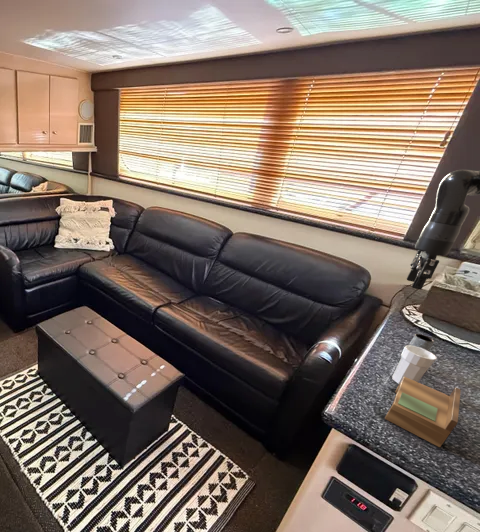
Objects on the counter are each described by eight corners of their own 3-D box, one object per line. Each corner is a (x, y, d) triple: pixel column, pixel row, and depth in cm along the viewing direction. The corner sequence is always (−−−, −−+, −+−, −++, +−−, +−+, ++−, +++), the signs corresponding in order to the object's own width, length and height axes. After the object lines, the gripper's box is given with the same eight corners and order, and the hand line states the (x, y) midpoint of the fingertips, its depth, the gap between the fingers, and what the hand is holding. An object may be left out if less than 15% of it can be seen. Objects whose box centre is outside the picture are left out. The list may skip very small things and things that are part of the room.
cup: (395, 372, 100) (411, 343, 96) (422, 387, 95) (441, 357, 90) (383, 376, 98) (400, 347, 94) (411, 392, 92) (429, 361, 88)
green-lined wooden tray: (396, 389, 92) (409, 367, 89) (445, 412, 85) (461, 389, 82) (384, 418, 81) (398, 394, 78) (439, 447, 74) (458, 422, 71)
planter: (401, 357, 108) (415, 332, 104) (419, 364, 105) (435, 339, 101) (399, 362, 106) (413, 336, 102) (417, 369, 102) (433, 343, 99)
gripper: (462, 244, 91) (434, 295, 97) (447, 235, 102) (423, 281, 107) (426, 238, 95) (401, 287, 101) (416, 230, 106) (394, 275, 111)
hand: (413, 284), depth 104 cm, fingers open, 8 cm apart
